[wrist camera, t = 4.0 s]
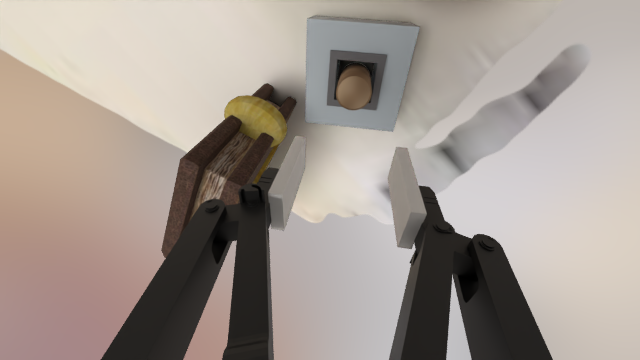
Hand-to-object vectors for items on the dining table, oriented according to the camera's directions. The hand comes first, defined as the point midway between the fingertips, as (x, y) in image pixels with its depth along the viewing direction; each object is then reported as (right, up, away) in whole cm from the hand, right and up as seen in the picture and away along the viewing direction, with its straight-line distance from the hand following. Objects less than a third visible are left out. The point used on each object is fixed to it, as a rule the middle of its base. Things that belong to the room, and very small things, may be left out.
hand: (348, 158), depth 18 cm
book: (-13, +9, +30) cm, 34 cm away
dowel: (+3, +13, +17) cm, 22 cm away
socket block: (+4, +16, +21) cm, 27 cm away
